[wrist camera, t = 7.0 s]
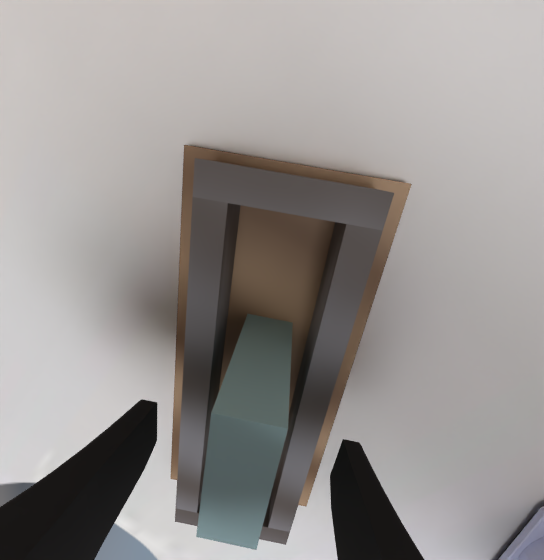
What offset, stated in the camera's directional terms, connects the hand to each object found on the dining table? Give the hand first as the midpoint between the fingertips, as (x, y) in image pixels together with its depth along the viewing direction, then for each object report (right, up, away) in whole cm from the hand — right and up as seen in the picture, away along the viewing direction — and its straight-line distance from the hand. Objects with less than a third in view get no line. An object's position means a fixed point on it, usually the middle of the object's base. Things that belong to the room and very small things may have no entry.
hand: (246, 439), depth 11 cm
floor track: (0, +2, +4) cm, 5 cm away
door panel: (0, +2, +4) cm, 4 cm away
